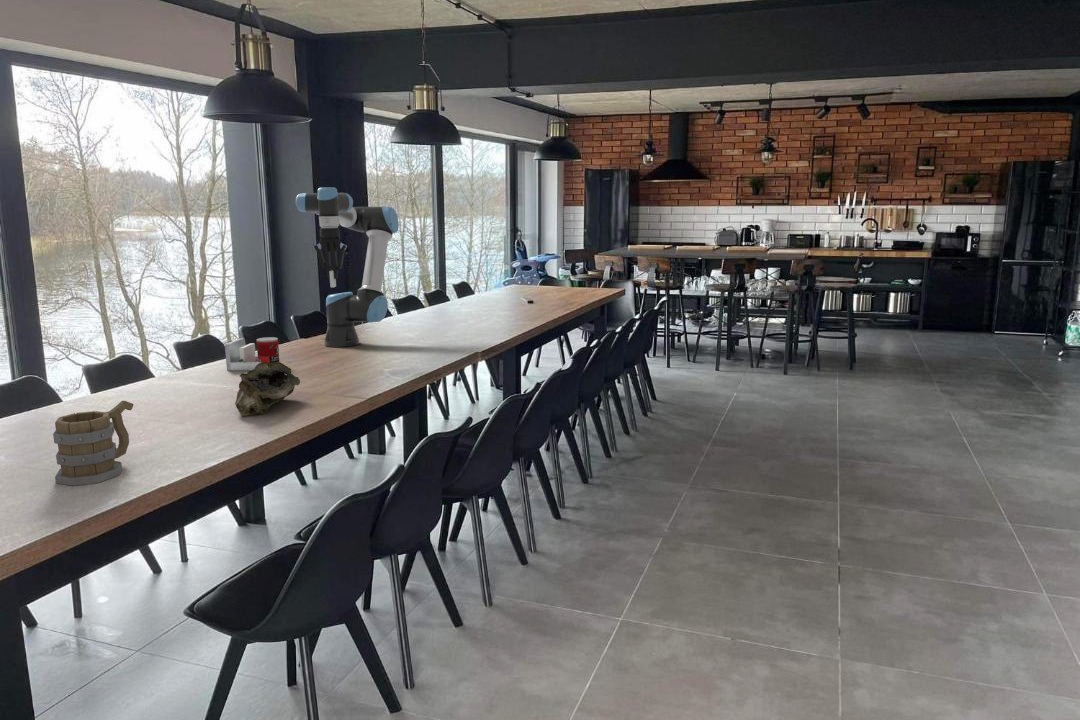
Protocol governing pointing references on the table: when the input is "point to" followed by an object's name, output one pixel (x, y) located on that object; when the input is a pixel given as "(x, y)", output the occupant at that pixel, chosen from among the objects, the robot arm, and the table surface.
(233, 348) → the frame
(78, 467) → the tankard
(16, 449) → the table surface
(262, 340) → the canned food
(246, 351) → the white flat block
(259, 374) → the hollow geode rock
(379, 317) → the robot arm
